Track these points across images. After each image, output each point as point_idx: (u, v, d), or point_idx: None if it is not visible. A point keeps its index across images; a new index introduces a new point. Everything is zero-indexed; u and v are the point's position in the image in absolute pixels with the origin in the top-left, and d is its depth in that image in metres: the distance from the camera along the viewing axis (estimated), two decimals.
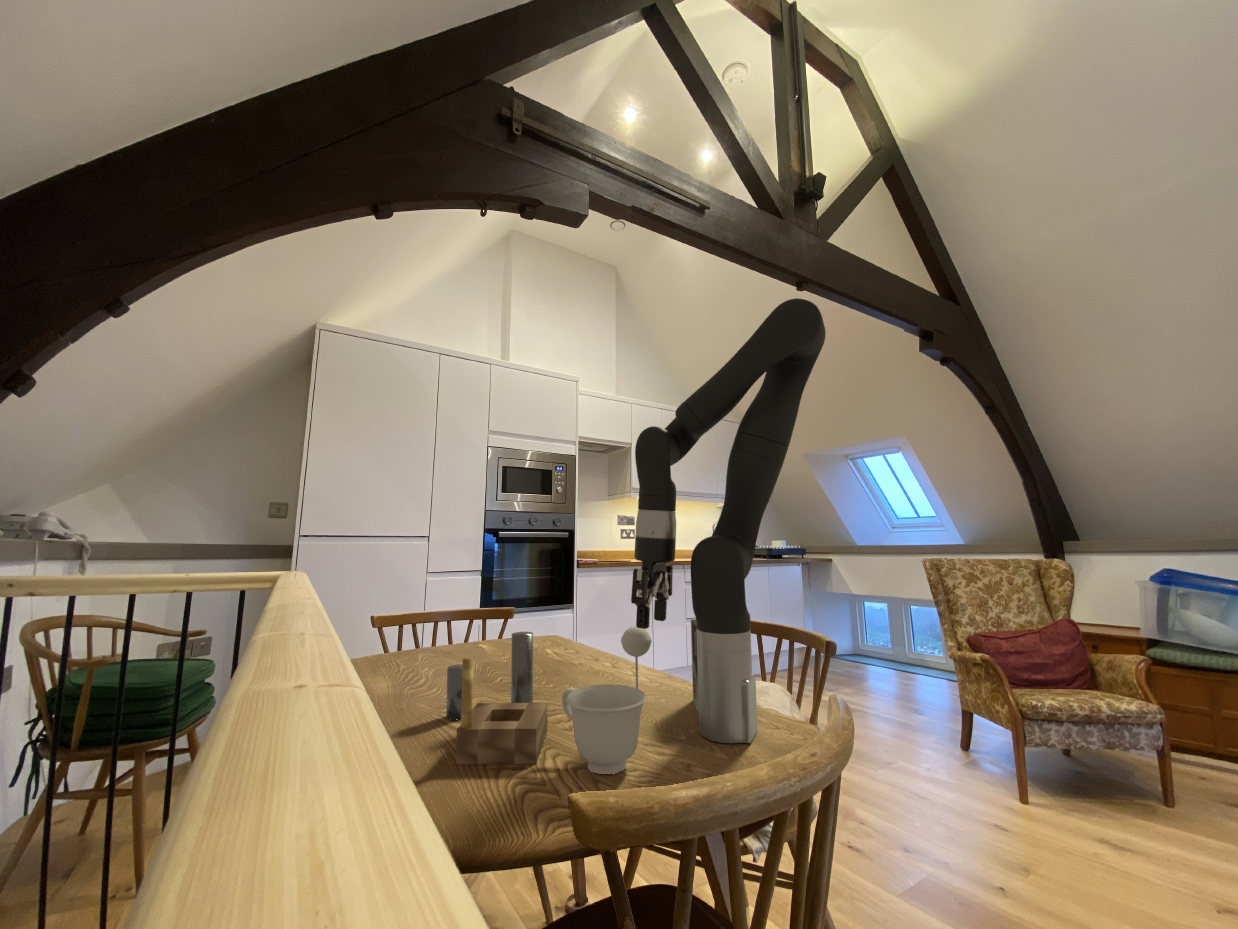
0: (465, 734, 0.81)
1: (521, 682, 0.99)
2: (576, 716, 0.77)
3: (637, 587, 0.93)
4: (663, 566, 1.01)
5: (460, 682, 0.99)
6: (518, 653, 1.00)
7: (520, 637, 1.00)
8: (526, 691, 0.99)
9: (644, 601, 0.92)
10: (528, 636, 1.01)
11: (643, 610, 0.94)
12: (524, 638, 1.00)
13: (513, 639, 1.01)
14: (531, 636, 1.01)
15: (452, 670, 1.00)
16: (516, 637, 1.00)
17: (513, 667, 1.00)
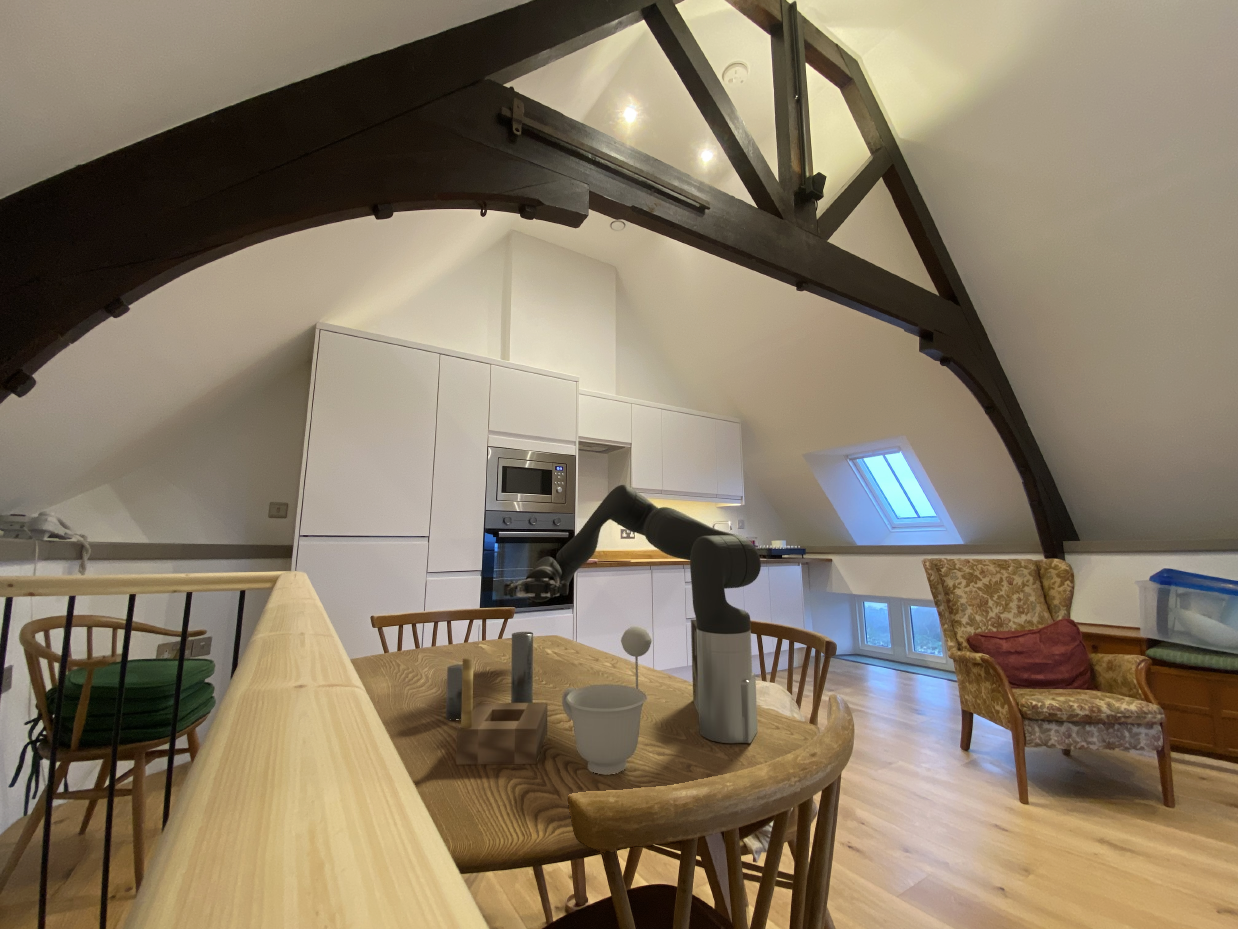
0: (465, 734, 0.81)
1: (521, 682, 0.99)
2: (576, 716, 0.77)
3: None
4: None
5: (460, 682, 0.99)
6: (518, 653, 1.00)
7: (520, 637, 1.00)
8: (526, 691, 0.99)
9: (504, 583, 1.19)
10: (528, 636, 1.01)
11: (509, 588, 1.17)
12: (524, 638, 1.00)
13: (513, 639, 1.01)
14: (531, 636, 1.01)
15: (452, 670, 1.00)
16: (516, 637, 1.00)
17: (513, 667, 1.00)
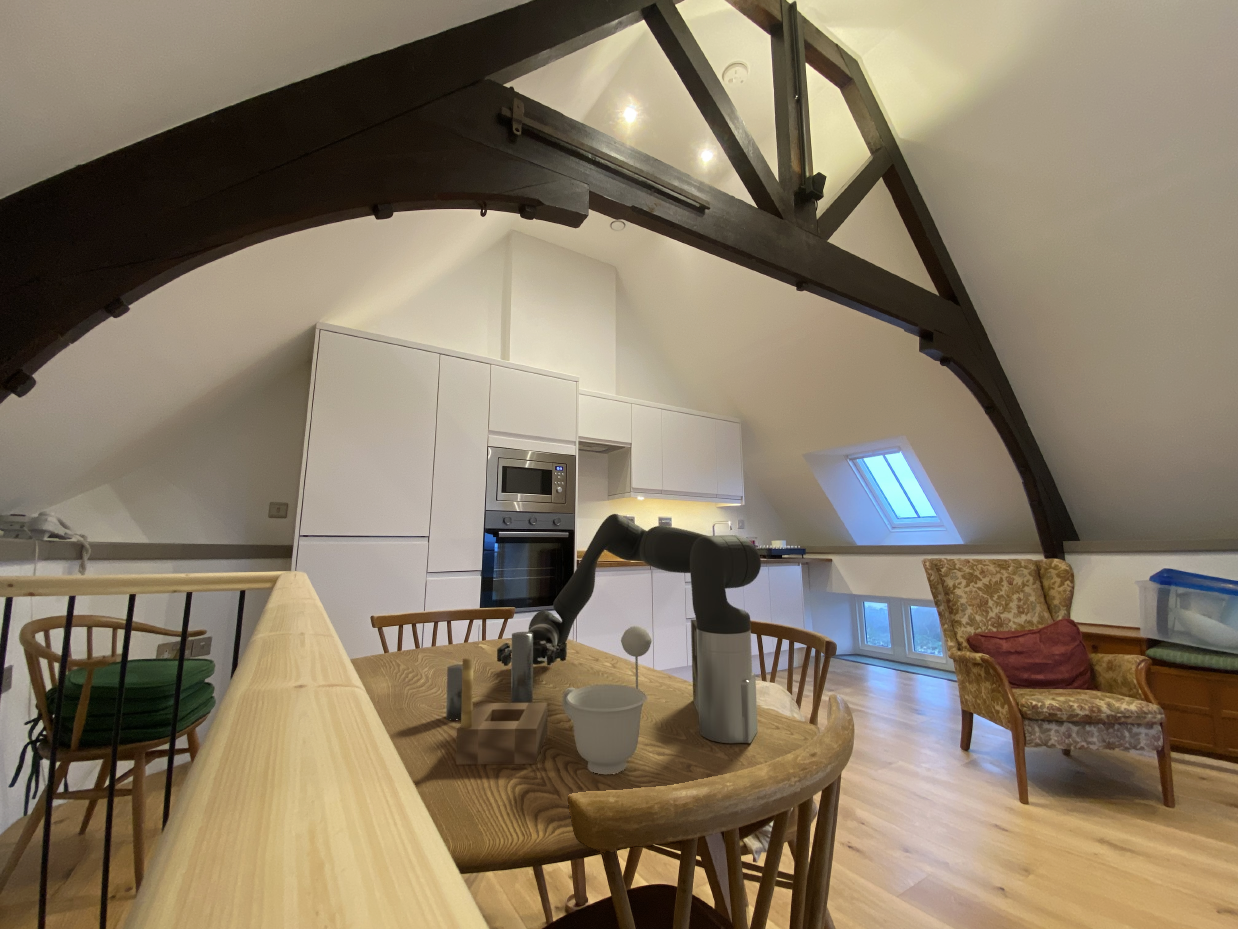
0: (465, 734, 0.81)
1: (521, 682, 0.99)
2: (576, 716, 0.77)
3: None
4: None
5: (460, 682, 0.99)
6: (518, 653, 1.00)
7: (520, 637, 1.00)
8: (526, 691, 0.99)
9: (498, 648, 1.11)
10: (528, 636, 1.01)
11: (503, 654, 1.10)
12: (524, 638, 1.00)
13: (513, 639, 1.01)
14: (531, 636, 1.01)
15: (452, 670, 1.00)
16: (516, 637, 1.00)
17: (513, 667, 1.00)
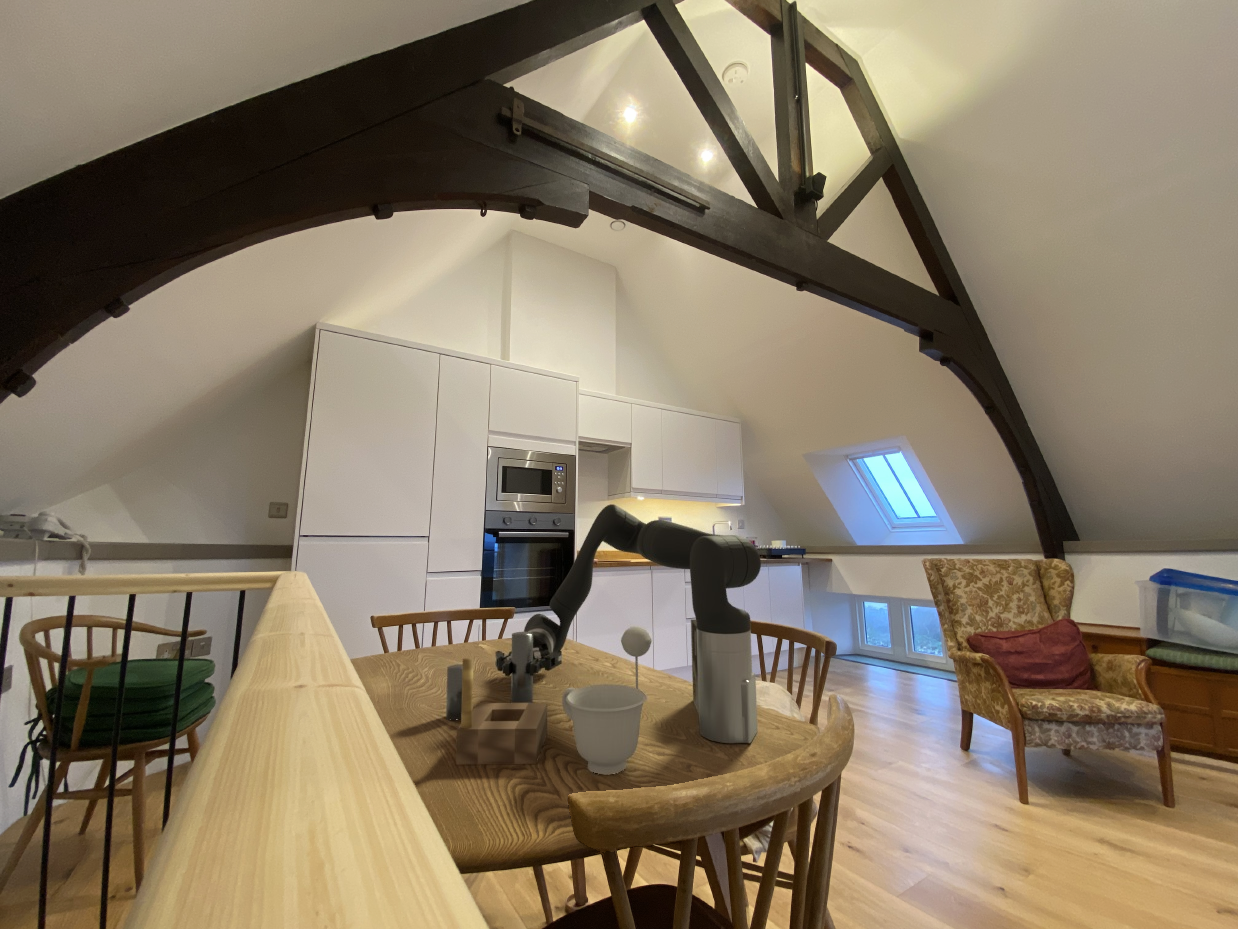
0: (465, 734, 0.81)
1: (521, 682, 0.99)
2: (576, 716, 0.77)
3: (496, 662, 1.05)
4: (539, 649, 1.10)
5: (460, 682, 0.99)
6: (518, 653, 1.00)
7: (520, 637, 1.00)
8: (526, 691, 0.99)
9: (499, 657, 1.04)
10: (528, 636, 1.01)
11: (505, 663, 1.02)
12: (524, 638, 1.00)
13: (513, 639, 1.01)
14: (531, 636, 1.01)
15: (452, 670, 1.00)
16: (516, 637, 1.00)
17: (513, 667, 1.00)
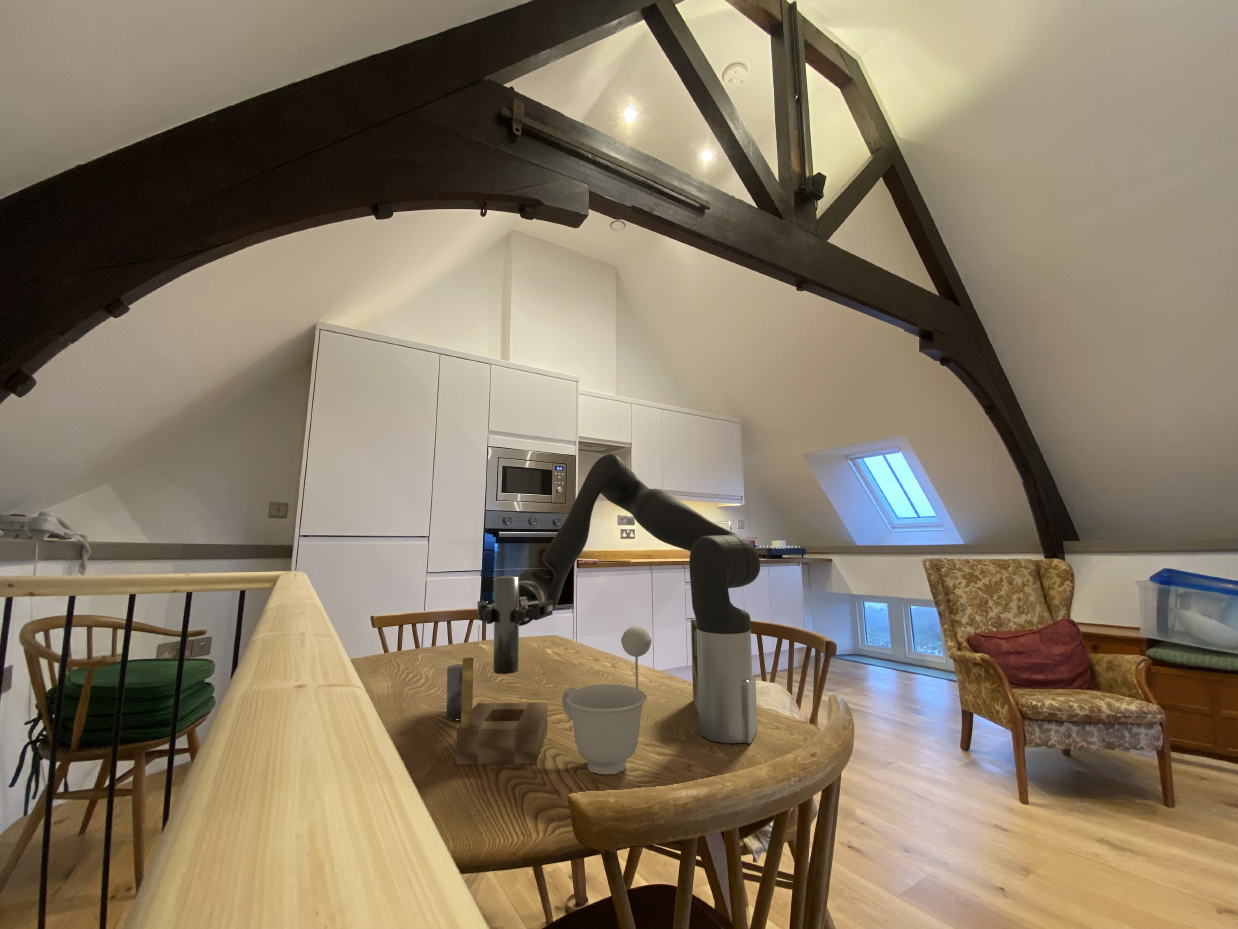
0: (465, 734, 0.81)
1: (505, 631, 0.87)
2: (576, 716, 0.77)
3: (478, 611, 0.93)
4: (527, 600, 0.97)
5: (460, 682, 0.99)
6: (502, 598, 0.87)
7: (504, 580, 0.87)
8: (510, 642, 0.87)
9: (480, 605, 0.91)
10: (513, 579, 0.88)
11: None
12: (508, 581, 0.87)
13: (496, 583, 0.88)
14: (517, 580, 0.89)
15: (452, 670, 1.00)
16: (499, 581, 0.88)
17: (496, 614, 0.87)
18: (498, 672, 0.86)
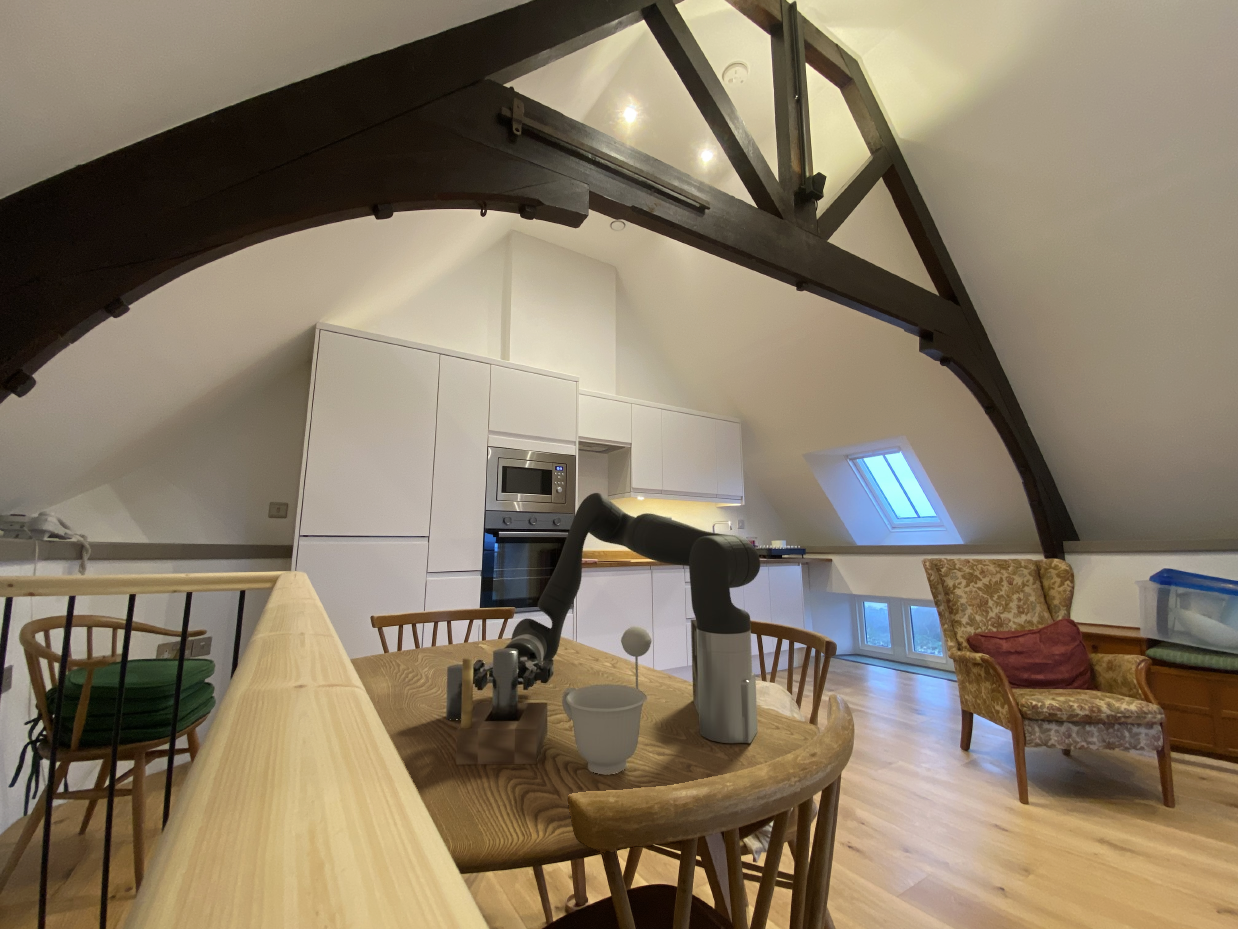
0: (465, 734, 0.81)
1: (504, 708, 0.85)
2: (576, 716, 0.77)
3: None
4: None
5: (460, 682, 0.99)
6: (500, 674, 0.86)
7: (502, 655, 0.86)
8: (509, 719, 0.85)
9: None
10: (512, 654, 0.86)
11: (478, 675, 0.88)
12: (507, 656, 0.86)
13: (494, 657, 0.86)
14: (515, 654, 0.87)
15: (452, 670, 1.00)
16: (498, 656, 0.86)
17: (494, 690, 0.86)
18: None
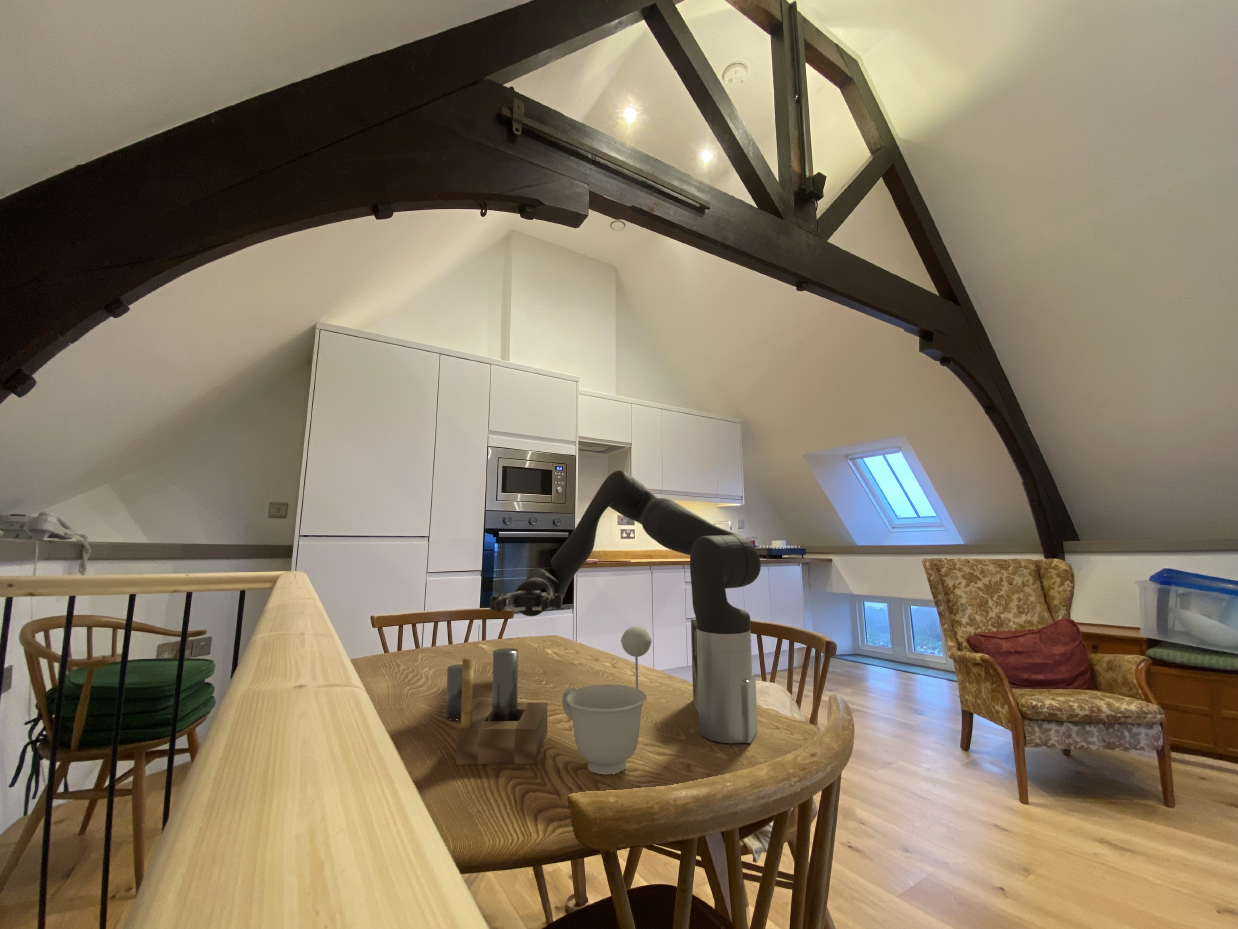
0: (465, 734, 0.81)
1: (504, 708, 0.85)
2: (576, 716, 0.77)
3: None
4: None
5: (460, 682, 0.99)
6: (500, 674, 0.85)
7: (502, 656, 0.86)
8: (509, 719, 0.85)
9: None
10: (512, 654, 0.86)
11: (497, 601, 1.06)
12: (507, 657, 0.86)
13: (494, 658, 0.86)
14: (515, 654, 0.87)
15: (452, 670, 1.00)
16: (498, 656, 0.86)
17: (494, 690, 0.86)
18: None
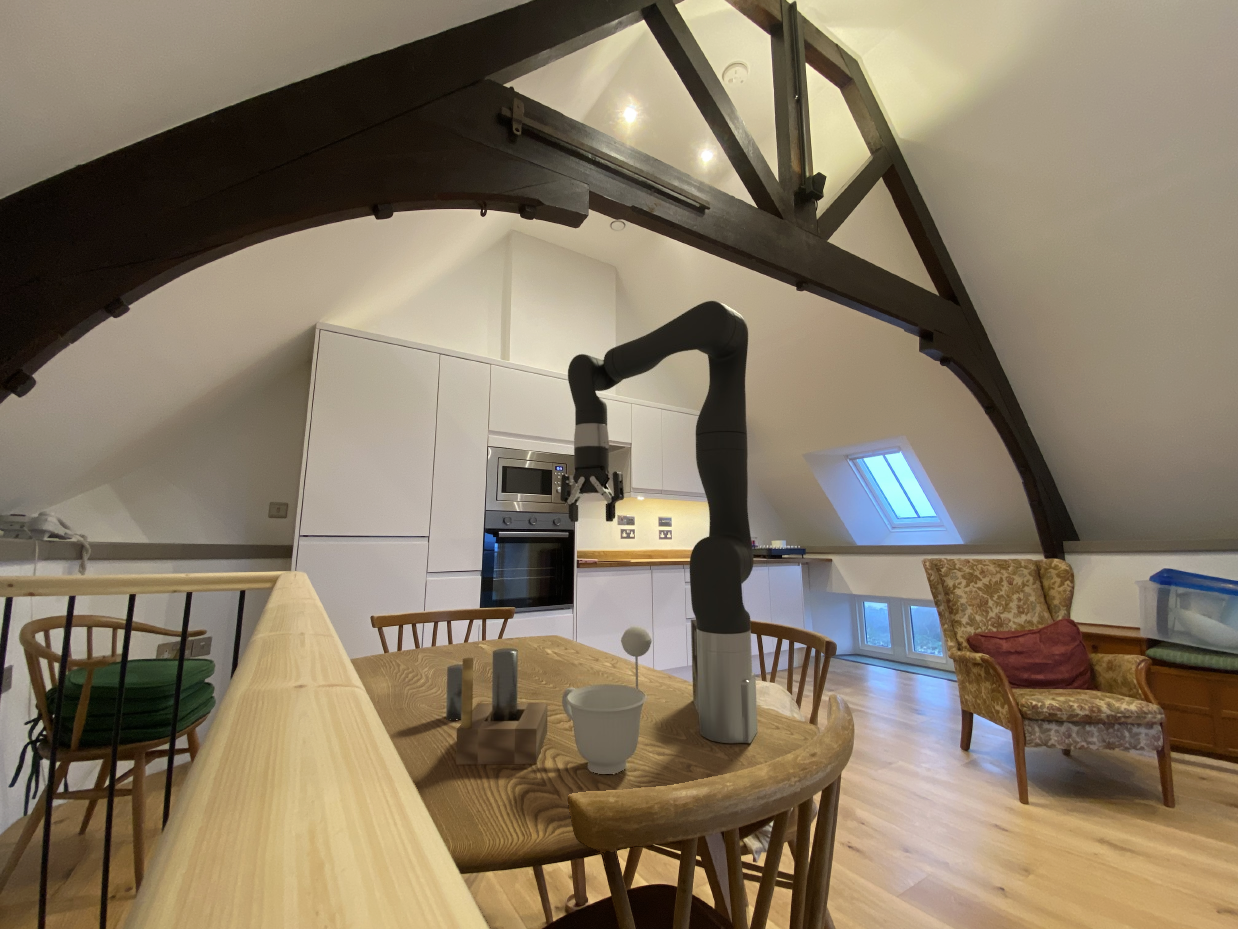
0: (465, 734, 0.81)
1: (504, 708, 0.85)
2: (576, 716, 0.77)
3: None
4: (597, 472, 1.14)
5: (460, 682, 0.99)
6: (500, 674, 0.85)
7: (502, 656, 0.86)
8: (509, 719, 0.85)
9: (561, 498, 1.17)
10: (512, 654, 0.86)
11: (569, 506, 1.17)
12: (507, 657, 0.86)
13: (494, 658, 0.86)
14: (515, 654, 0.87)
15: (452, 670, 1.00)
16: (497, 656, 0.86)
17: (494, 691, 0.86)
18: None
